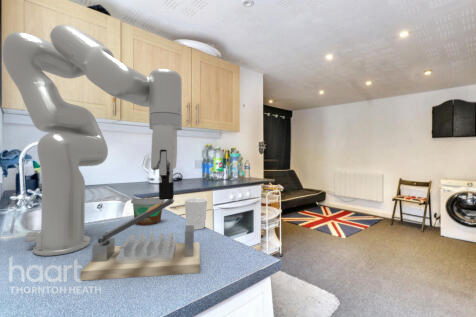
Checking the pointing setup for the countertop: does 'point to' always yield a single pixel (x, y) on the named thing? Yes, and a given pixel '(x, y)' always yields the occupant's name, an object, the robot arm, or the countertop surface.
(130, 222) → the strap
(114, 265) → the board
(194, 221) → the white cup
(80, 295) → the countertop surface
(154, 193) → the countertop surface
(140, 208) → the food container
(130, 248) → the heat sink
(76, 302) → the countertop surface
